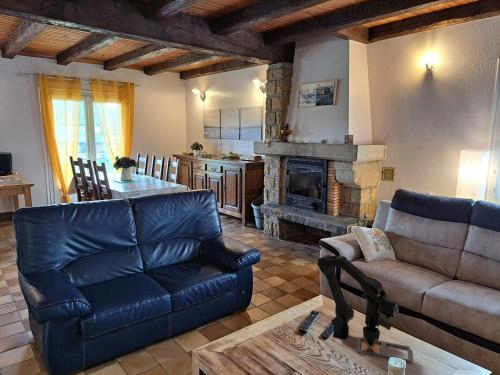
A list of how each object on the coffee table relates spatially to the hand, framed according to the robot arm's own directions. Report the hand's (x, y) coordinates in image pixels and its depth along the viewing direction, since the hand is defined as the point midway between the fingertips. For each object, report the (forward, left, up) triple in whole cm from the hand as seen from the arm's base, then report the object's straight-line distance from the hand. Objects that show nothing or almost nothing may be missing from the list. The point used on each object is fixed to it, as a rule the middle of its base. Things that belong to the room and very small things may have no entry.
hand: (370, 341), depth 160 cm
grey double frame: (+6, 0, -3) cm, 7 cm away
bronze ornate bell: (0, 0, -2) cm, 2 cm away
